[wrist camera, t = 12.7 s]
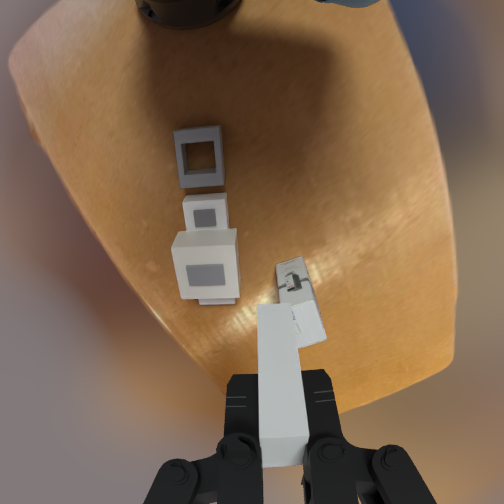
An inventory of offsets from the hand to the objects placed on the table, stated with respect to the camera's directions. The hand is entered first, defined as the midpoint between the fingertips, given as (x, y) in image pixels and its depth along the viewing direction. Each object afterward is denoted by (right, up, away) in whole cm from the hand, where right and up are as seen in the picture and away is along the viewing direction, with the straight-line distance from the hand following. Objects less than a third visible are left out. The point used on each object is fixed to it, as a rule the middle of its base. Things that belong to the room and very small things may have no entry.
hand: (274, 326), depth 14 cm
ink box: (+6, -1, +38) cm, 39 cm away
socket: (-7, +4, +35) cm, 36 cm away
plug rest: (-8, +17, +28) cm, 33 cm away
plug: (-7, +4, +34) cm, 35 cm away
